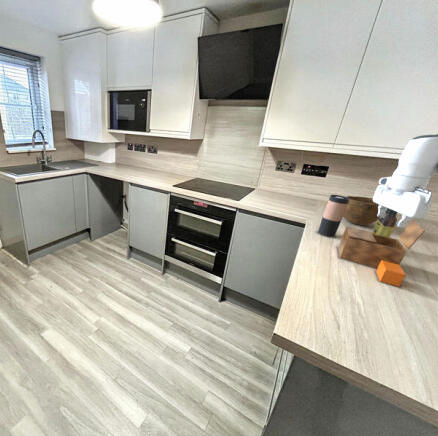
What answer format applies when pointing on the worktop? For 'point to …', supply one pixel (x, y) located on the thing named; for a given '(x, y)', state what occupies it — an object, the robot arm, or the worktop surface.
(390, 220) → the sauce bottle
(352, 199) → the bowl
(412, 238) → the carton flap
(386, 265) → the orange block
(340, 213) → the travel mug
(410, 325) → the worktop surface
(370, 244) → the carton
